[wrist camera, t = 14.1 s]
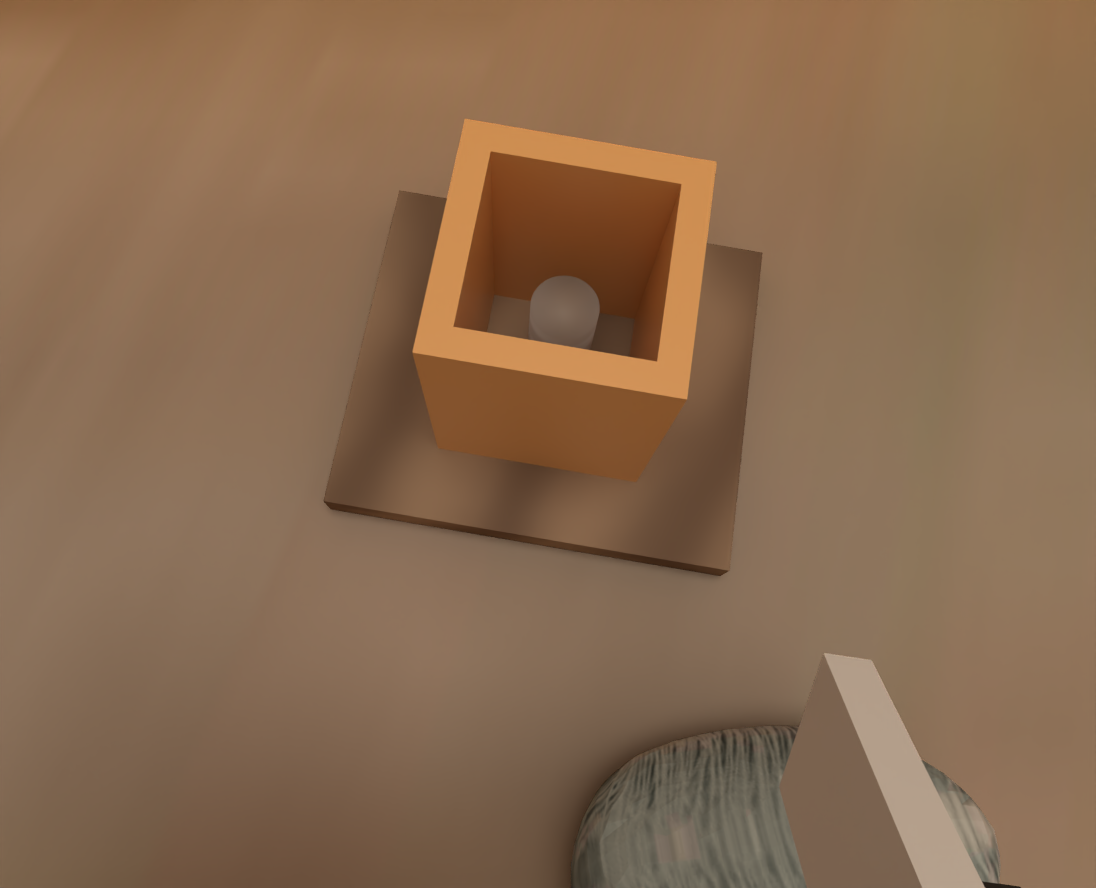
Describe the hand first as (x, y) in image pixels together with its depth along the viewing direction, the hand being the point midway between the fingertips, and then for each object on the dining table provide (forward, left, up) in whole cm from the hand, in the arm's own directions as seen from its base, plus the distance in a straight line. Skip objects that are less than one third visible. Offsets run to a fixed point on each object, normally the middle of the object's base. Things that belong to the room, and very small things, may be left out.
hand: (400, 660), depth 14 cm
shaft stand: (+1, +13, -21) cm, 24 cm away
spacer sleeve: (+1, +13, -19) cm, 23 cm away
